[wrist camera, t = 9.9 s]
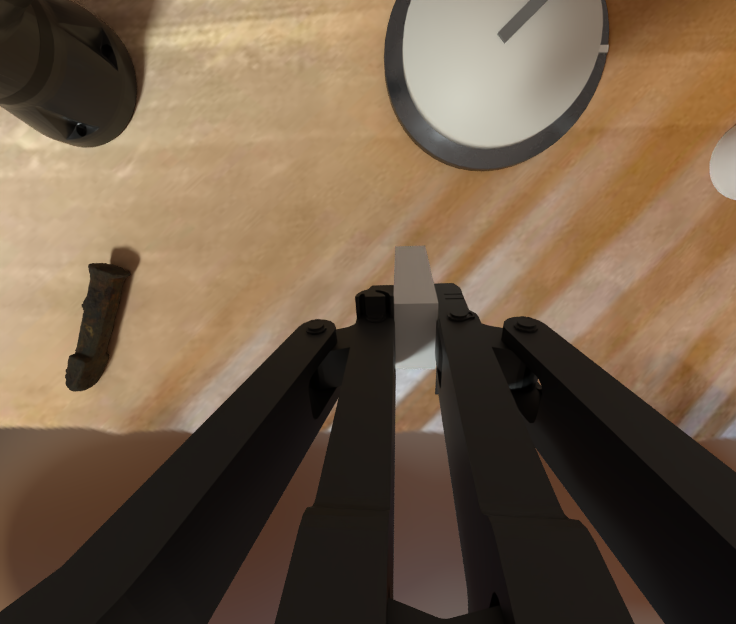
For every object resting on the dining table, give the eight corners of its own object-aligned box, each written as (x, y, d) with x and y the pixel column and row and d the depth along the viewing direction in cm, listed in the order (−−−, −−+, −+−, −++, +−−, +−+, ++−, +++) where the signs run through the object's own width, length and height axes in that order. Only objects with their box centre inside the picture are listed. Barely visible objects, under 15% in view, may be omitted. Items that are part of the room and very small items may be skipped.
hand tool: (109, 259, 46) (78, 261, 41) (136, 271, 46) (108, 274, 41) (79, 376, 50) (47, 389, 45) (104, 387, 50) (75, 401, 45)
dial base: (347, 108, 40) (345, 101, 38) (455, -116, 35) (459, -135, 33) (518, 208, 41) (524, 206, 39) (646, 5, 36) (660, -8, 34)
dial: (481, 187, 39) (516, 165, 28) (364, 49, 37) (355, -32, 26) (629, 50, 35) (735, -35, 24) (510, -111, 33) (569, -282, 22)
